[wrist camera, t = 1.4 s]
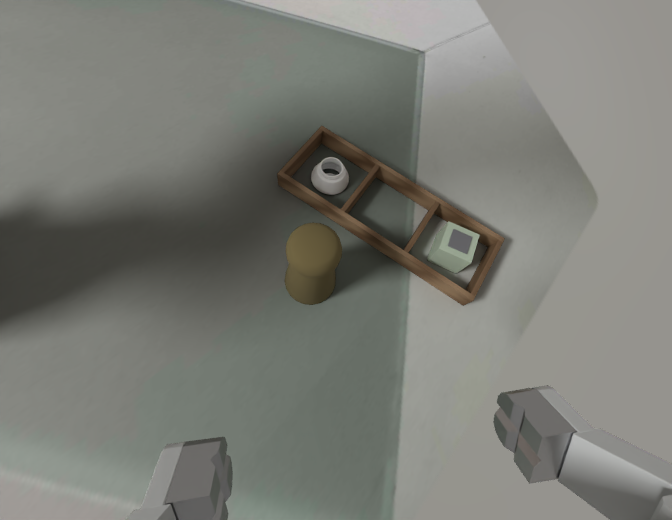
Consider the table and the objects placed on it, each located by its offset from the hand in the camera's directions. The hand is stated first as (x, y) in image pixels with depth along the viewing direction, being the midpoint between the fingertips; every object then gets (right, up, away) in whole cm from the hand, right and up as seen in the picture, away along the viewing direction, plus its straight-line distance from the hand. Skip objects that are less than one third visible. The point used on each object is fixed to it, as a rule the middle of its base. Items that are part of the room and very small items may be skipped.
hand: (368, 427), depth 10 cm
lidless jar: (-2, +16, +35) cm, 39 cm away
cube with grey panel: (+13, +6, +33) cm, 36 cm away
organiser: (+6, +11, +34) cm, 36 cm away
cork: (-4, +2, +30) cm, 30 cm away
